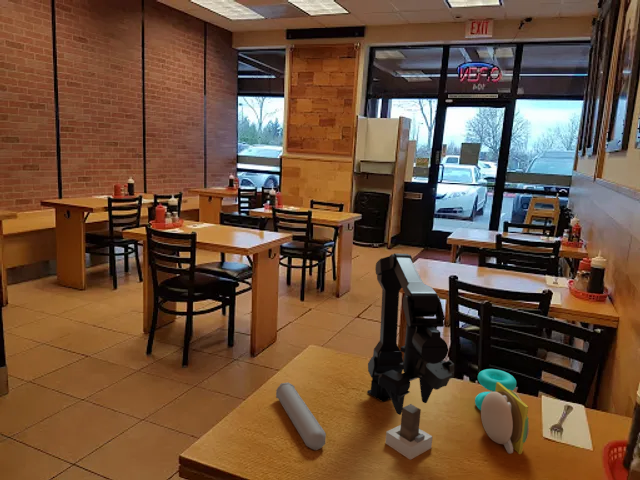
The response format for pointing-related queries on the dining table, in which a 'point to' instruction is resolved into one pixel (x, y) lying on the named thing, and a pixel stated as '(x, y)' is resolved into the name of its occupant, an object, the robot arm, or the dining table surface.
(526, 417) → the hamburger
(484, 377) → the donuts
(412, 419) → the dark brown wooden beam
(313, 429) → the tube
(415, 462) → the dining table surface
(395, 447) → the white square frame
